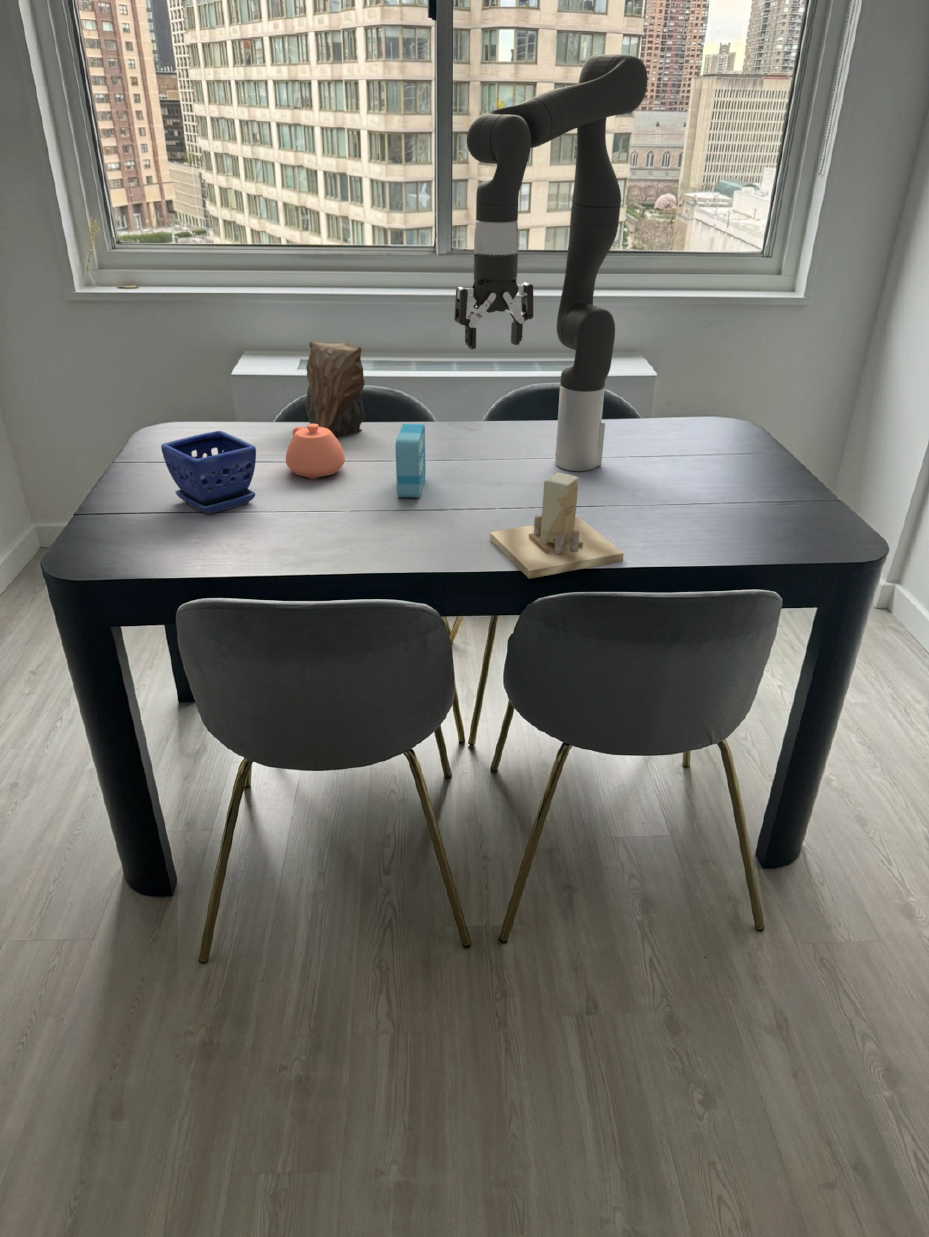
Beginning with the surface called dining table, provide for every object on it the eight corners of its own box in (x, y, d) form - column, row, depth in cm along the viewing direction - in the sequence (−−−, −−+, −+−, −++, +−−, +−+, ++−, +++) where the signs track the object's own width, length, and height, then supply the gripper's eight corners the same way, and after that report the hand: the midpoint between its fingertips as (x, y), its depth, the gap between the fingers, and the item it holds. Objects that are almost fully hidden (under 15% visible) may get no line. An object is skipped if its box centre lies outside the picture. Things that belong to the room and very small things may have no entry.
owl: (305, 425, 212) (298, 340, 202) (355, 419, 217) (350, 336, 206) (319, 441, 202) (313, 353, 192) (371, 434, 207) (367, 348, 197)
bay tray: (577, 524, 164) (579, 499, 161) (622, 560, 151) (625, 534, 149) (489, 539, 158) (490, 514, 155) (529, 578, 145) (530, 551, 143)
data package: (419, 500, 173) (418, 442, 167) (396, 499, 173) (395, 441, 167) (425, 478, 184) (424, 422, 177) (404, 477, 184) (402, 421, 178)
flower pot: (227, 484, 179) (220, 428, 173) (264, 503, 171) (257, 444, 165) (168, 502, 171) (158, 443, 165) (203, 522, 163) (194, 461, 157)
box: (561, 546, 151) (565, 485, 145) (539, 540, 153) (542, 480, 147) (574, 535, 155) (579, 476, 149) (553, 529, 156) (557, 471, 151)
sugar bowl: (307, 487, 179) (303, 438, 173) (271, 468, 188) (266, 421, 182) (356, 473, 186) (354, 426, 180) (320, 455, 195) (316, 410, 189)
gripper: (524, 244, 155) (520, 338, 163) (449, 248, 150) (449, 345, 158) (543, 250, 149) (538, 347, 157) (465, 254, 144) (464, 354, 152)
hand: (493, 346), depth 158 cm, fingers open, 8 cm apart
